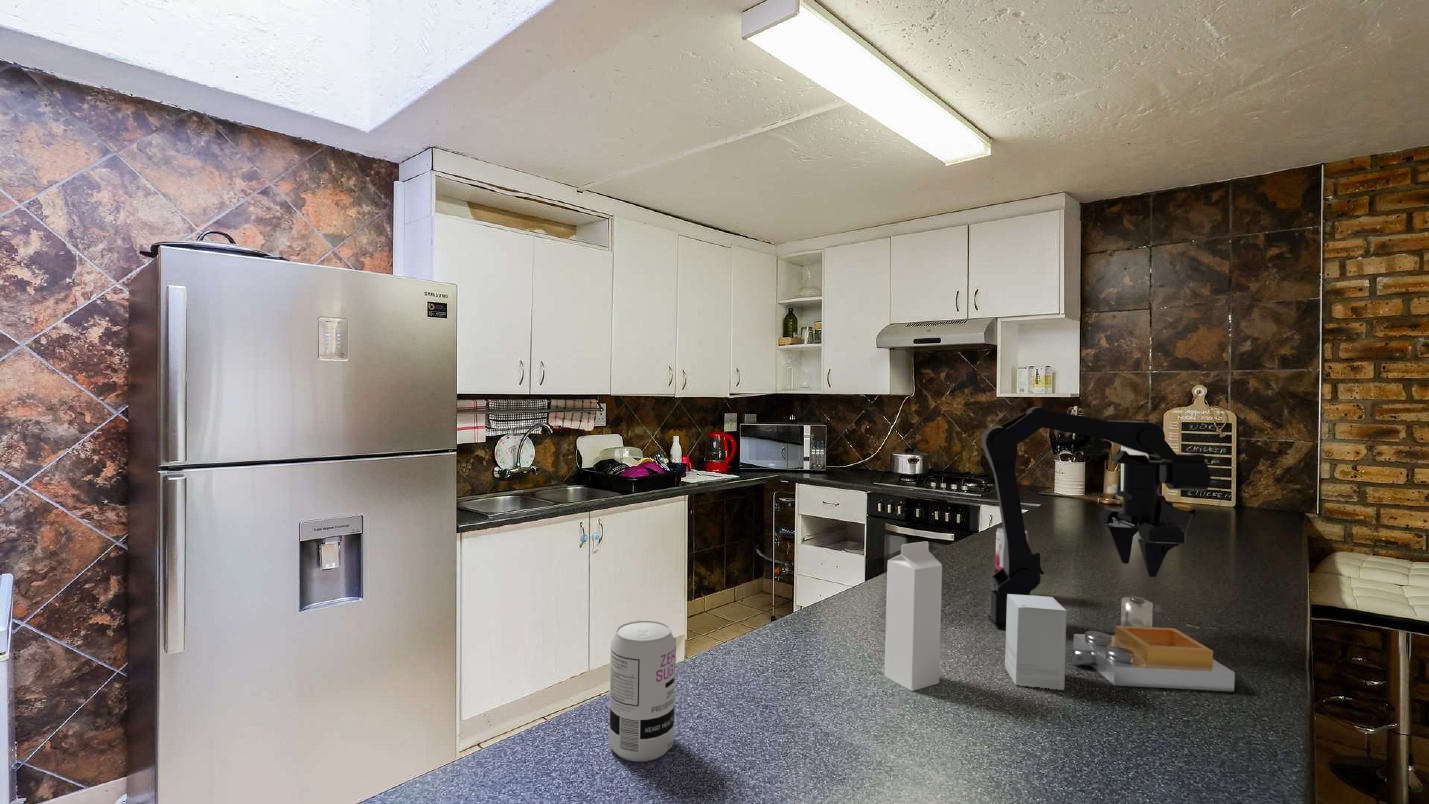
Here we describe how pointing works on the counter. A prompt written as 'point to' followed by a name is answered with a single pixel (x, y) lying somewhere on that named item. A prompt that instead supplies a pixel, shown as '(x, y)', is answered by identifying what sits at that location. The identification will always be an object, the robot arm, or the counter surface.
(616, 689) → the supplement can
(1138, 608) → the spout can
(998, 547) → the beverage can
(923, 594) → the milk
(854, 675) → the counter surface
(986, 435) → the robot arm
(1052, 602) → the supplement box
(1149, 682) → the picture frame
